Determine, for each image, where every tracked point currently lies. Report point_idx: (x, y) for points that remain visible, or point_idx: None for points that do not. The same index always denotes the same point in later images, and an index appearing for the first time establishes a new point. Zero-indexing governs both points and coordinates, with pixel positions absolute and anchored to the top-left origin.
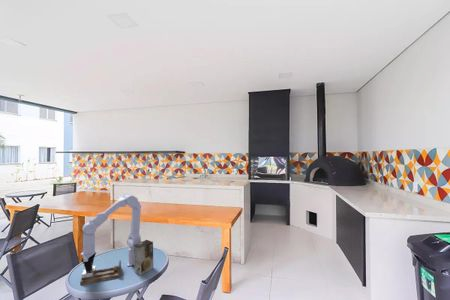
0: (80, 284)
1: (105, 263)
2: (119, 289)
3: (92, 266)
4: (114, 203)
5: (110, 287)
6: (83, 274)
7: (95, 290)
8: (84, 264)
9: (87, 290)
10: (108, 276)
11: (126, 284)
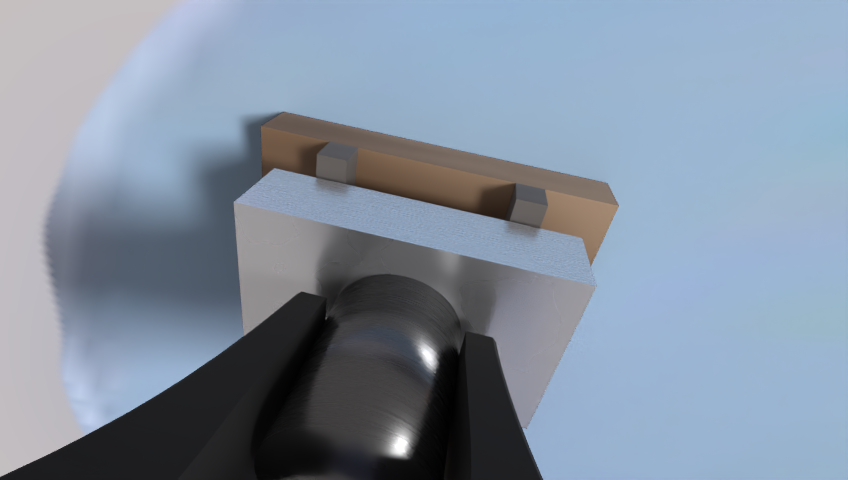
0: (281, 116)
1: (785, 437)
2: (82, 420)
3: (521, 384)
4: None
5: (124, 381)
6: (237, 227)
7: (92, 275)
8: (113, 430)
9: (104, 203)
10: None
11: None
